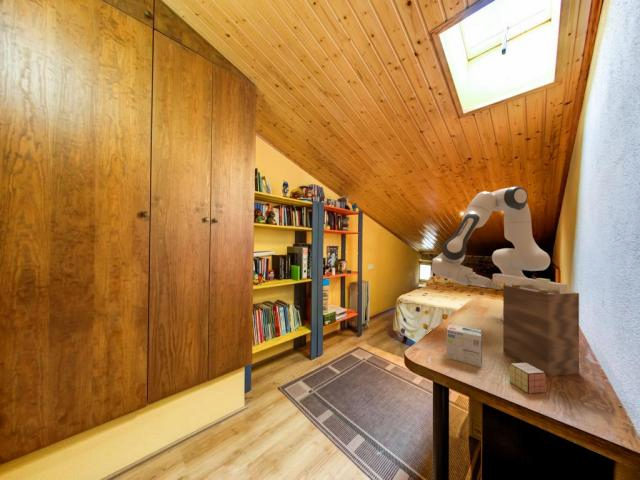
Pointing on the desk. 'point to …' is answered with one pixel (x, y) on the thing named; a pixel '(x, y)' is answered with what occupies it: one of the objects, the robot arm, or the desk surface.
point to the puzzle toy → (527, 377)
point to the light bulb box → (464, 345)
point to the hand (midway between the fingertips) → (499, 287)
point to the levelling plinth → (541, 329)
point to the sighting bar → (532, 283)
